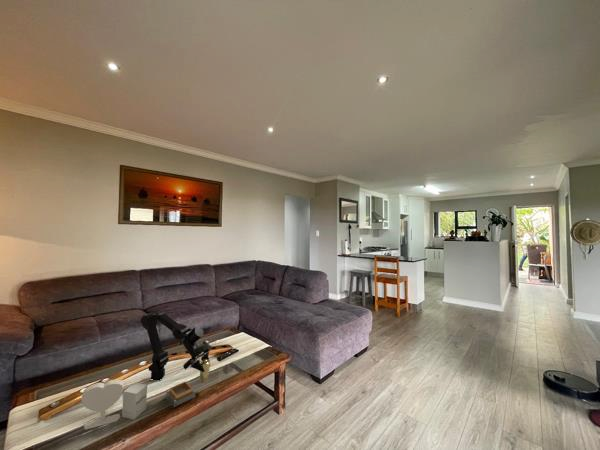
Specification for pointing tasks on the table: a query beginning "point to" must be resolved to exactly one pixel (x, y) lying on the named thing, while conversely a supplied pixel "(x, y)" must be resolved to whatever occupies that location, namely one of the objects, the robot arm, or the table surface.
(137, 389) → the supplement box
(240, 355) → the table surface
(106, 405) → the heart sculpture
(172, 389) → the grey square tray
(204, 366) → the spout can
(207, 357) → the robot arm
